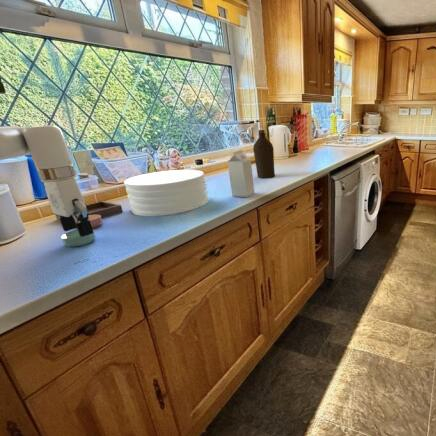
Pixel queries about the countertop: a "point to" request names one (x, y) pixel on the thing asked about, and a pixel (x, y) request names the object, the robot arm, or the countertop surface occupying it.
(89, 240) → the green disc
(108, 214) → the tray
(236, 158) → the milk carton
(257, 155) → the olive oil
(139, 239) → the countertop surface
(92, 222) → the terracotta round puck
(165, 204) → the plate stack
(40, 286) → the countertop surface
